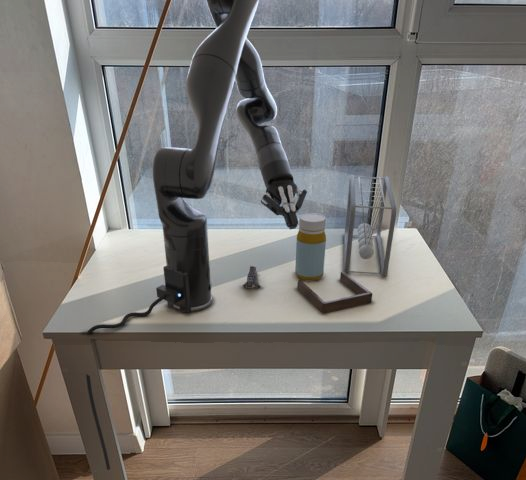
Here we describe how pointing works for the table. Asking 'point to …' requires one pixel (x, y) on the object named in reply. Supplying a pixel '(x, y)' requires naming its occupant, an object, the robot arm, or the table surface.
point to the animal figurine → (252, 279)
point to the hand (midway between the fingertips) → (293, 227)
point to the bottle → (310, 247)
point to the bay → (338, 304)
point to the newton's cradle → (368, 226)
